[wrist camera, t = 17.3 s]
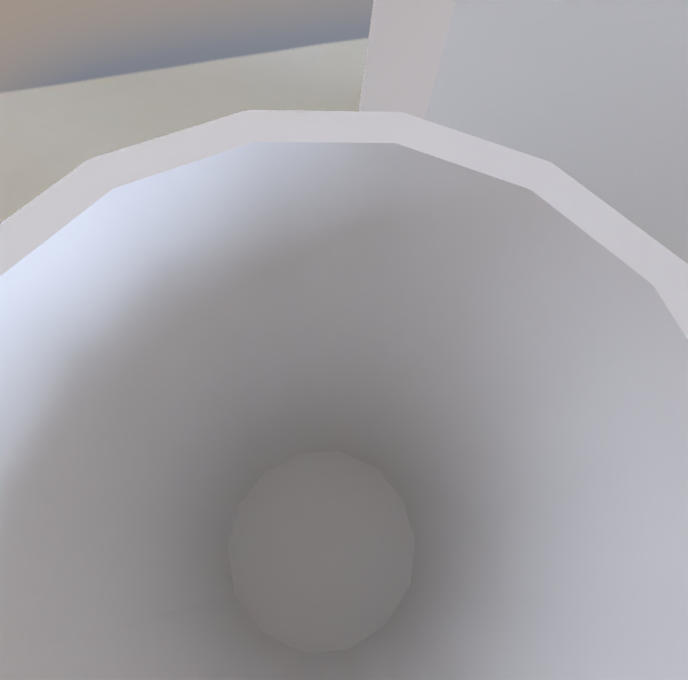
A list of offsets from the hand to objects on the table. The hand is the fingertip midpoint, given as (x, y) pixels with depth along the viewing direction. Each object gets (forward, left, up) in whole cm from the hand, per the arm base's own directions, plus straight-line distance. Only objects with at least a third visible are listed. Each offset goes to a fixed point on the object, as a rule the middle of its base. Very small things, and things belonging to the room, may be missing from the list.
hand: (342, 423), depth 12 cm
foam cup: (-2, +2, -6) cm, 7 cm away
